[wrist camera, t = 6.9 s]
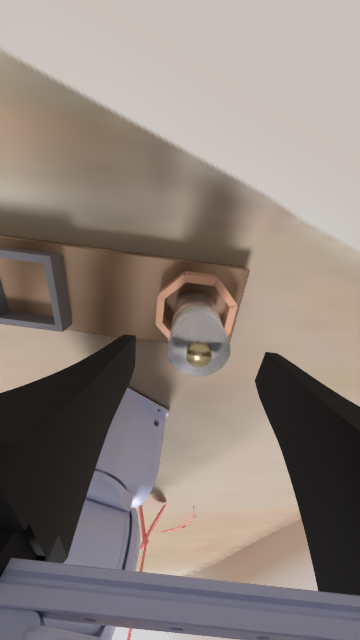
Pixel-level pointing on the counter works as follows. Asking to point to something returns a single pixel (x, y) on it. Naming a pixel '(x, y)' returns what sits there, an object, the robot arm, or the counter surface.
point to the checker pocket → (56, 292)
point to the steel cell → (197, 335)
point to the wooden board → (110, 287)
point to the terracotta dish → (197, 279)
